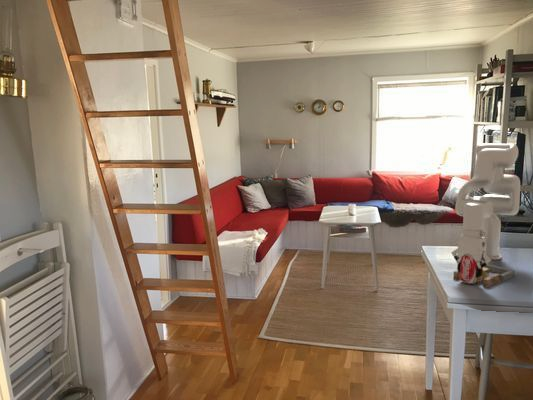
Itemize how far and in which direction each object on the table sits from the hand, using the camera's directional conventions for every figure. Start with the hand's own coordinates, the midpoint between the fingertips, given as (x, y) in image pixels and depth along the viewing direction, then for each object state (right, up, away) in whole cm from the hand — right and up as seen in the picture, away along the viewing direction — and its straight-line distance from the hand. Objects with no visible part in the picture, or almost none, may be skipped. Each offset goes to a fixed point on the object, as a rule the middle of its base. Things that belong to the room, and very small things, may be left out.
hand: (469, 274), depth 184 cm
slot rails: (+5, -3, +5) cm, 8 cm away
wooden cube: (+9, -3, +8) cm, 12 cm away
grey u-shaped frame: (+14, -2, +12) cm, 19 cm away
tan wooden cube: (+4, -3, +4) cm, 7 cm away
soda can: (0, -3, +1) cm, 3 cm away
